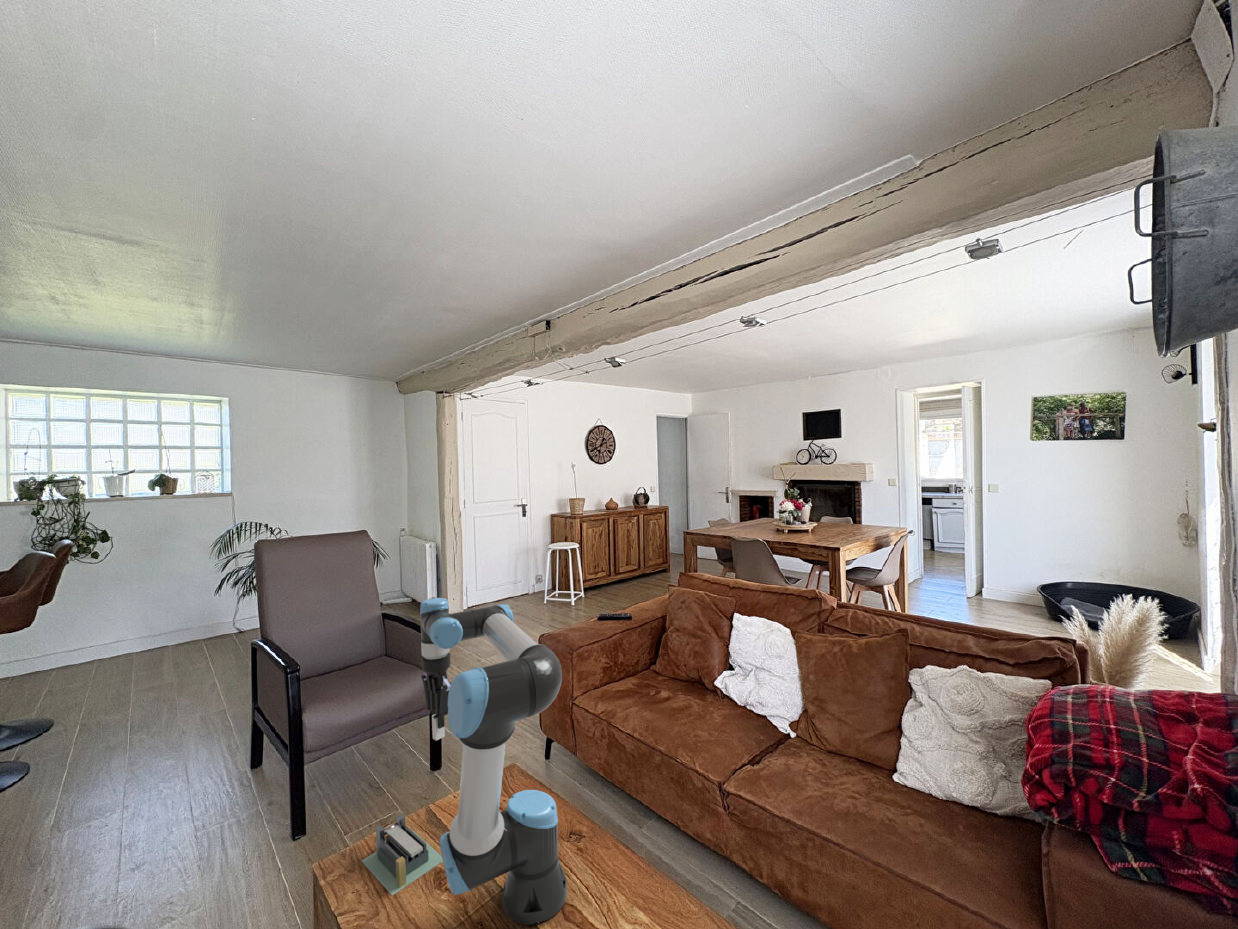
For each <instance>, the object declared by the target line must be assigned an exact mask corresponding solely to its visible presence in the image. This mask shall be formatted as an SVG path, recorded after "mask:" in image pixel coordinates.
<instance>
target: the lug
mask: <svg viewBox="0 0 1238 929" xmlns="http://www.w3.org/2000/svg"><path fill="white" fill-rule="evenodd" d="M396 882H397V885H398V887H399V888H400V887H402V886H403V885H405V884H406V865H405V859H404V858H403V857H400V858H398V859H397V860H396Z"/></svg>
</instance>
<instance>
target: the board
mask: <svg viewBox="0 0 1238 929" xmlns="http://www.w3.org/2000/svg"><path fill="white" fill-rule="evenodd" d="M411 830H412V829H411ZM412 831H413V832H414V833H415V834H416V835H417V836H418V837H419V838H420V839H422V840H423V841H424V842H425V843H426V849H428V857H429V861H428V862H426V863H425V864H423V865H422V866H420V867H419V868H417V869H416V870H414V871H413V872H411V873H410V874H408V875H407V876H406V884H405V885H403V886H402V887H400V888H399V887H398V885H397V882H396V878H395V877H394V876H393V875H392V874H391V873H390V871H389V870H388V869H387V868H386V867H385V866H384V865H383V864H382V863H381V862H380V861H379V860H378V855H377V852H376V851H375V852H374V853H372V854H370V855H369V856H367V857H365V858H364V859H361V863H363V865H364V866H365V867H366V868H367V870H369V871H370V873H371V874H372V875H373V876H374V877H375V878H376V880H378V882H379V883H380V884H381V885H382V886H383V887H384V888H385V889H386V891H388V893H389V894H390V895H391V896H394V895H395V894H398V892H400V891H402V890H403V889H404V888H406V887H407V886H409V885H410V884H412V883H413V882H415V881H416V880H418V879H419V878H421V877H423V875H426V874H427V873H428V872H429V871H431V870H432V869H434V868H435V867H437V866H439V865H440V864H441V863H443V859H442V854H441V853H439V852H438V851H437V850H435V849H434V848H433V847H432V846H431V845H430V844H429V843H428V842H427V841H425V839H423V838H422V837H421V836H420V835H419V834H418V833H416V832H415V831H414V830H412Z"/></svg>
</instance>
